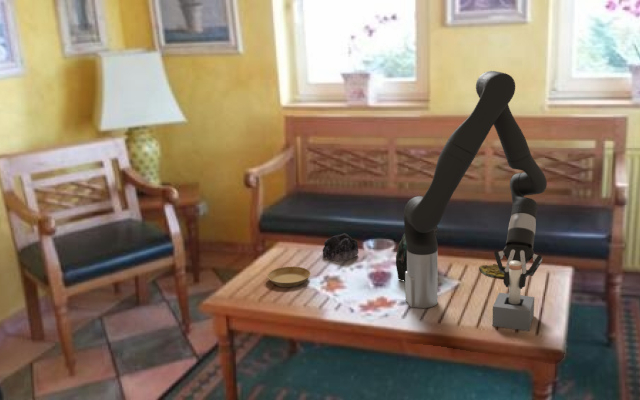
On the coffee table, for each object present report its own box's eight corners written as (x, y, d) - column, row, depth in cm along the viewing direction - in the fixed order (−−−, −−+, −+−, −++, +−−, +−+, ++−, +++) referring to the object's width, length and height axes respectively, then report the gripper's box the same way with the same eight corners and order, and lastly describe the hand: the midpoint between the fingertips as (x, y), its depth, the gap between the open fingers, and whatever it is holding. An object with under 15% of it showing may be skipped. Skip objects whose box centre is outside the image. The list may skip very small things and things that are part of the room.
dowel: (511, 304, 187) (512, 265, 184) (506, 300, 191) (507, 261, 187) (522, 303, 188) (523, 263, 185) (517, 298, 191) (518, 259, 188)
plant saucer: (280, 270, 237) (280, 264, 237) (318, 276, 231) (317, 269, 230) (260, 286, 224) (259, 279, 224) (298, 292, 218) (298, 285, 218)
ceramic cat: (427, 262, 238) (426, 209, 232) (442, 266, 233) (442, 212, 228) (392, 279, 224) (391, 223, 219) (408, 284, 220) (407, 227, 214)
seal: (473, 277, 226) (517, 285, 218) (473, 265, 224) (517, 272, 216) (483, 265, 233) (526, 272, 225) (483, 253, 231) (526, 260, 223)
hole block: (529, 331, 184) (529, 311, 183) (492, 325, 188) (492, 306, 187) (533, 315, 193) (534, 296, 191) (498, 311, 197) (499, 292, 196)
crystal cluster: (324, 251, 256) (320, 227, 252) (359, 247, 255) (356, 224, 251) (322, 266, 243) (319, 242, 240) (359, 263, 242) (356, 238, 239)
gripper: (495, 224, 193) (486, 279, 186) (545, 228, 187) (539, 284, 180) (498, 235, 199) (489, 289, 192) (547, 239, 193) (540, 295, 186)
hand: (513, 286), depth 186 cm, fingers closed on dowel, 3 cm apart
